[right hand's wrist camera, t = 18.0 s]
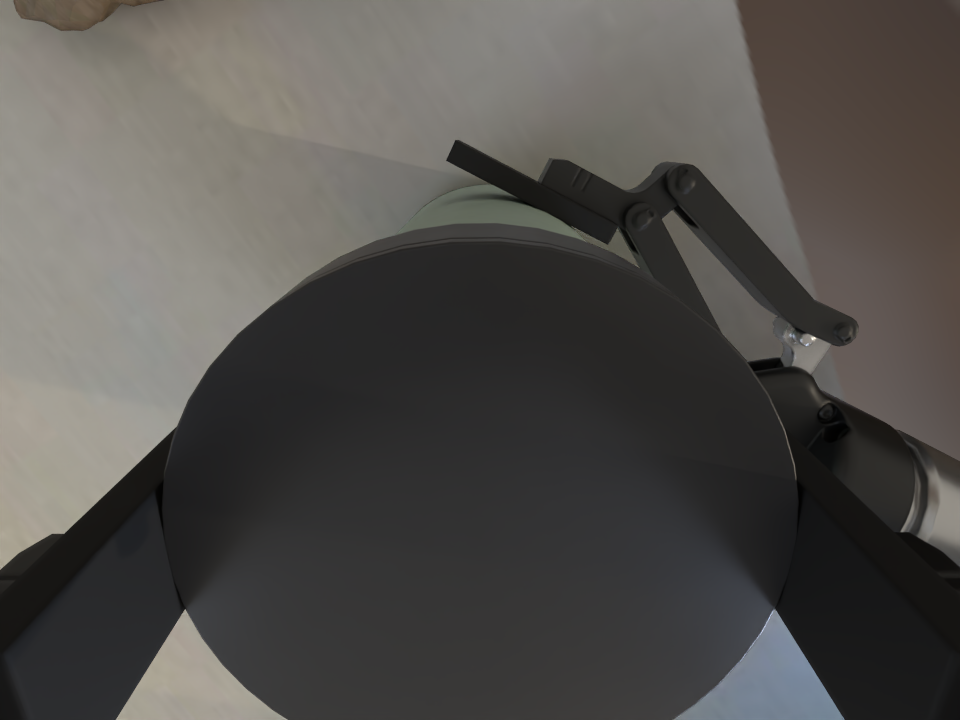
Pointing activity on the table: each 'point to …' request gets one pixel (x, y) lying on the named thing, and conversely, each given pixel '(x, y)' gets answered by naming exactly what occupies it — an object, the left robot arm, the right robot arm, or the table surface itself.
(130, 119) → the table surface
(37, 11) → the stone
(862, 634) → the right robot arm
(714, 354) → the lid
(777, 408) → the left robot arm
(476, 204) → the jar
